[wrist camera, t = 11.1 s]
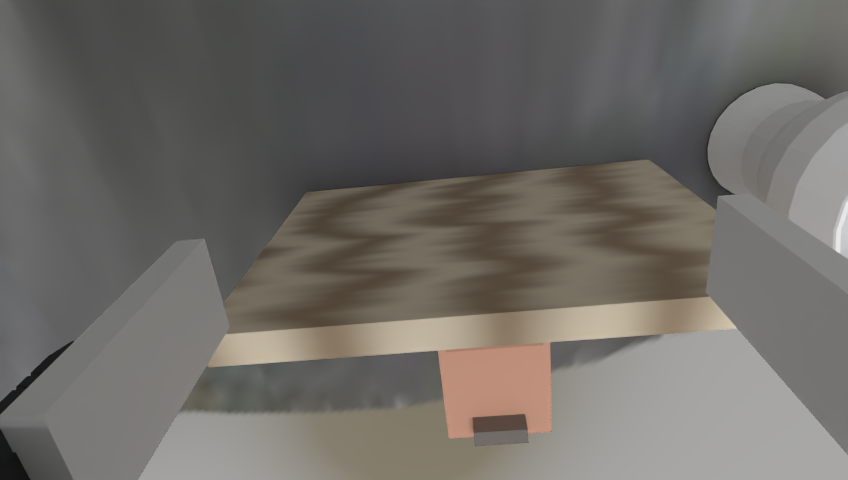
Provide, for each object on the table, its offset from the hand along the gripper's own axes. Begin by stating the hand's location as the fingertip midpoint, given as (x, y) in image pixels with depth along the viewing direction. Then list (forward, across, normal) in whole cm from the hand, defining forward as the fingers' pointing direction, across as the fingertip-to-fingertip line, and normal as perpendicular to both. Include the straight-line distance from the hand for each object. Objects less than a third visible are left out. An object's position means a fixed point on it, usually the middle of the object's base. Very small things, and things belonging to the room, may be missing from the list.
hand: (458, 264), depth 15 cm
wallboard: (+24, +2, -8) cm, 26 cm away
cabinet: (+20, +2, -12) cm, 24 cm away
